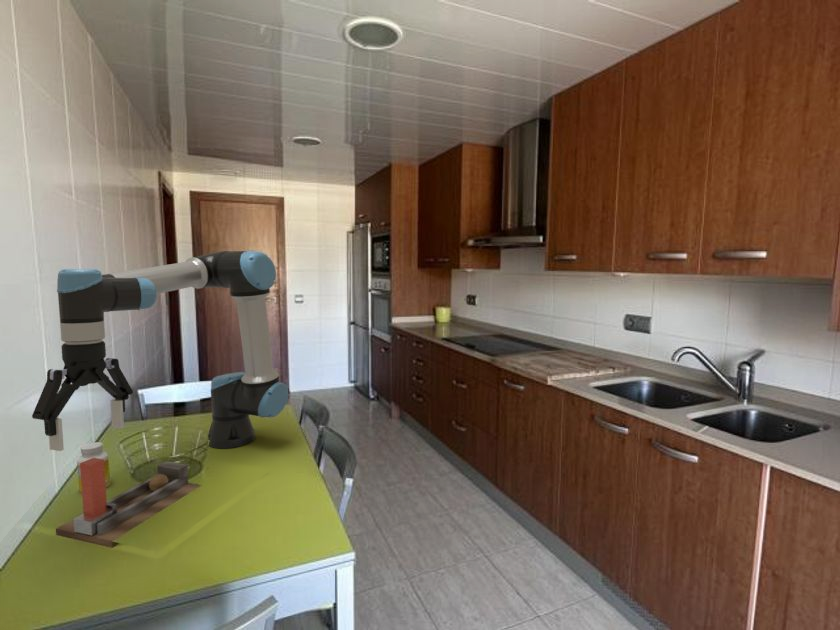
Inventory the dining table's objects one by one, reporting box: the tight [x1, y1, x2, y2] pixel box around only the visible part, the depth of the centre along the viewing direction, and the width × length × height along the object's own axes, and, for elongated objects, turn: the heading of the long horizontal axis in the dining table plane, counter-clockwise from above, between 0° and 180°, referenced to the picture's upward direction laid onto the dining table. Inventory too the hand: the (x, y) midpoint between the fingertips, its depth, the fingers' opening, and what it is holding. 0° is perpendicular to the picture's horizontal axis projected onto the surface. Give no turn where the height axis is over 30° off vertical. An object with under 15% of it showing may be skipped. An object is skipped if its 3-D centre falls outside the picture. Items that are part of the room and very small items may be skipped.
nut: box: [149, 474, 169, 492], centre depth 117 cm, size 4×4×4 cm
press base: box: [55, 461, 202, 549], centre depth 110 cm, size 26×16×6 cm, turn 164°
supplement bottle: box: [76, 441, 111, 494], centre depth 118 cm, size 7×7×13 cm
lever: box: [72, 458, 117, 535], centre depth 100 cm, size 6×5×15 cm
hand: (89, 438), depth 98 cm, fingers open, 13 cm apart
